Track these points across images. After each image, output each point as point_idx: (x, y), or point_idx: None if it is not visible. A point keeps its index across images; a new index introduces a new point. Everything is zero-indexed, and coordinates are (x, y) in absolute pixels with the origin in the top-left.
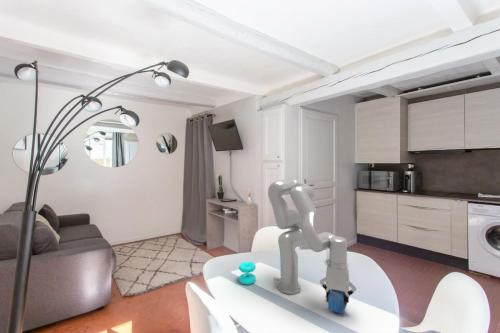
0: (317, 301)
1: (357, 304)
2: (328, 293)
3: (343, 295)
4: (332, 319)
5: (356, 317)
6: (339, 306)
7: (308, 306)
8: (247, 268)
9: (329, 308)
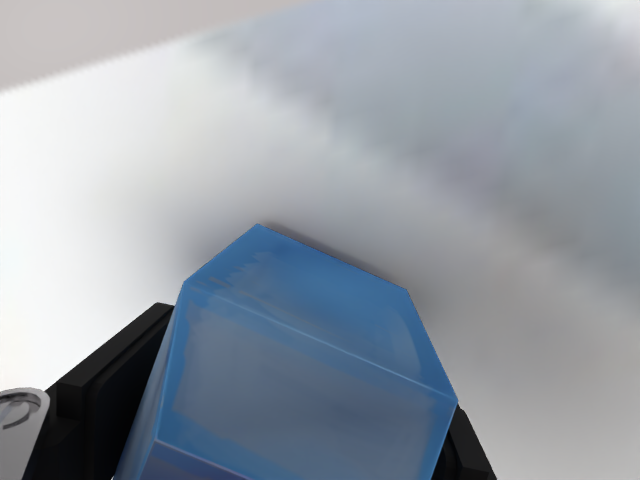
0: (489, 427)
1: None
2: (459, 452)
3: (135, 434)
4: (363, 156)
5: (122, 249)
6: (263, 256)
7: (601, 329)
8: None
9: (392, 284)
